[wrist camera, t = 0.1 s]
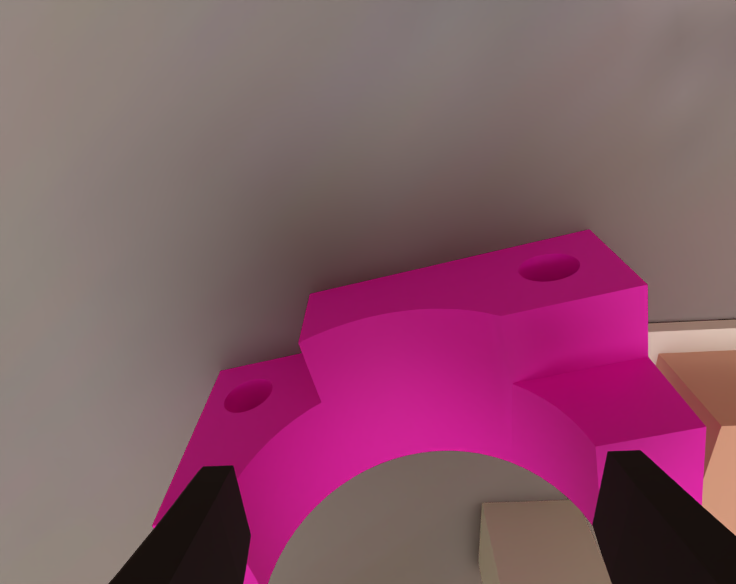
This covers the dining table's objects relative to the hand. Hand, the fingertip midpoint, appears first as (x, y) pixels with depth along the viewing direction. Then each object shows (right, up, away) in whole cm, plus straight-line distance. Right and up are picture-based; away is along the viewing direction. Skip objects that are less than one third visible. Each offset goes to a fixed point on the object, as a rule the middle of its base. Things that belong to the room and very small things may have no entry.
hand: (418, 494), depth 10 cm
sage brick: (+7, -8, +15) cm, 19 cm away
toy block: (0, +2, +11) cm, 11 cm away
